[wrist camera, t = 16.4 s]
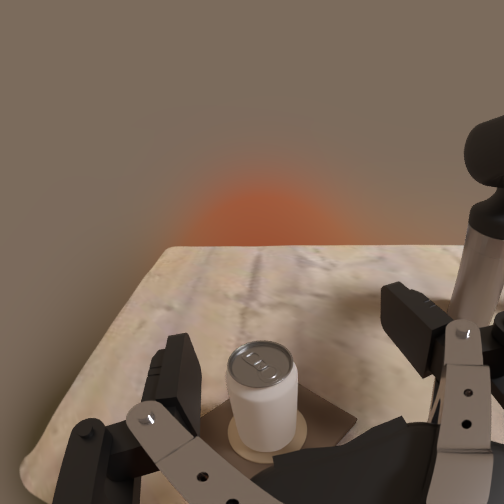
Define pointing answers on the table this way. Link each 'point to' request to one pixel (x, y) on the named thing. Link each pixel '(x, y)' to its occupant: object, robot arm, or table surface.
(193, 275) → the table surface
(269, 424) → the can
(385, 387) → the table surface
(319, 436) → the rest board
